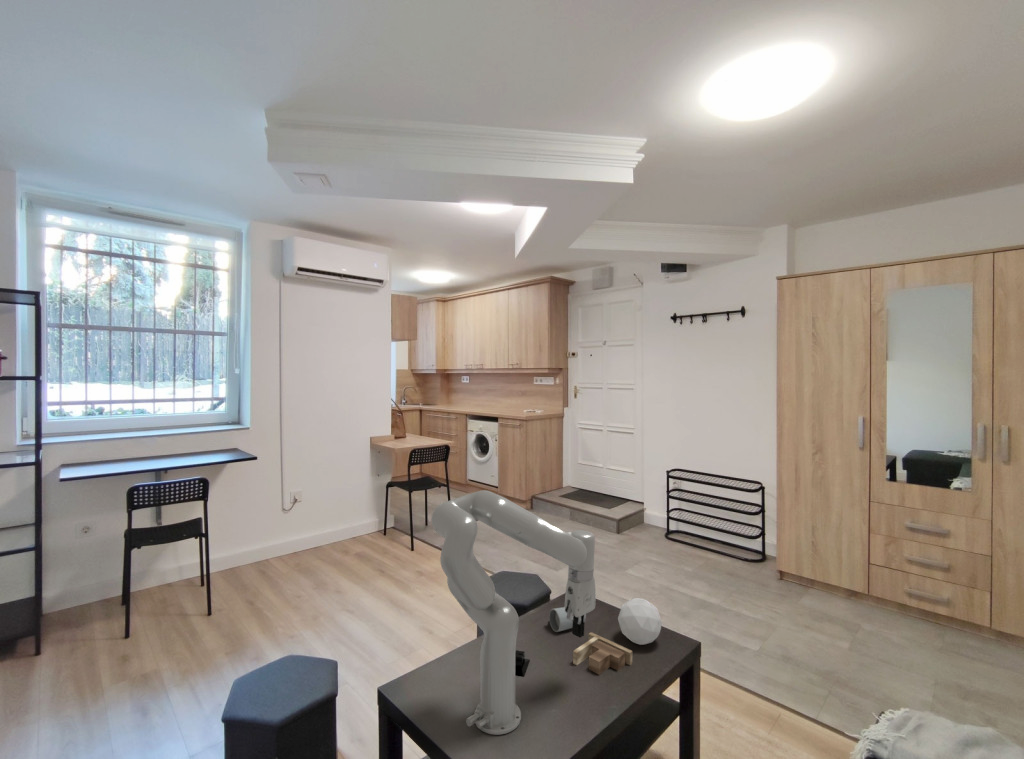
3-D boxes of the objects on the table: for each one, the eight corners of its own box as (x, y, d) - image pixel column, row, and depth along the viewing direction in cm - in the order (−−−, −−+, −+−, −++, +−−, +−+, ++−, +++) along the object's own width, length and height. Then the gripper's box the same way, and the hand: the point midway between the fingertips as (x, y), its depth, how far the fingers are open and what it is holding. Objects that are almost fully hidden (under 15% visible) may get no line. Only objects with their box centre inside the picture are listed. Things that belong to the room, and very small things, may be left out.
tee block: (607, 679, 143) (607, 666, 143) (580, 665, 150) (580, 652, 150) (625, 665, 150) (625, 652, 150) (598, 652, 157) (598, 640, 157)
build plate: (525, 682, 142) (525, 667, 142) (502, 678, 144) (502, 663, 144) (533, 658, 154) (533, 645, 154) (512, 655, 156) (512, 641, 156)
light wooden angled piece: (609, 682, 141) (609, 669, 141) (566, 660, 153) (567, 647, 153) (632, 663, 151) (632, 650, 151) (591, 643, 162) (591, 632, 162)
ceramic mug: (578, 630, 171) (578, 609, 171) (559, 636, 167) (559, 614, 167) (562, 617, 180) (562, 597, 180) (544, 622, 176) (544, 602, 176)
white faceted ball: (651, 657, 163) (677, 632, 157) (616, 649, 158) (641, 623, 153) (637, 619, 175) (661, 594, 170) (605, 610, 171) (627, 585, 165)
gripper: (575, 583, 133) (572, 649, 133) (605, 571, 144) (602, 631, 143) (555, 575, 139) (552, 638, 138) (585, 564, 149) (582, 622, 149)
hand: (578, 634), depth 141 cm, fingers closed
